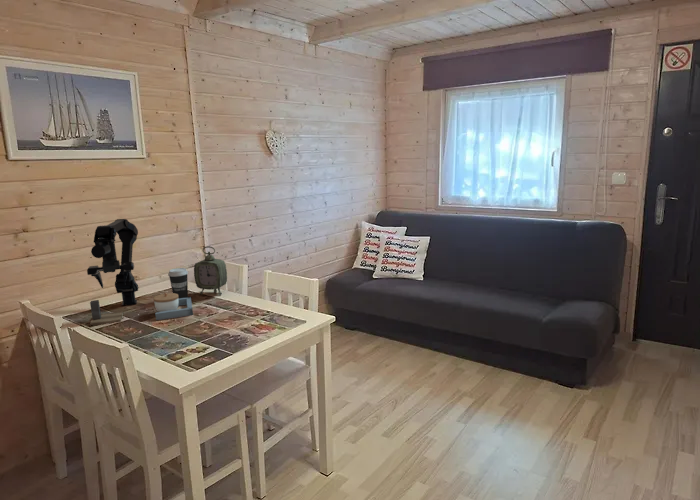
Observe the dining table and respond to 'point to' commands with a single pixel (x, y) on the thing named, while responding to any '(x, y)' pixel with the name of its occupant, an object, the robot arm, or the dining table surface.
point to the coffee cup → (179, 281)
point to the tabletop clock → (210, 273)
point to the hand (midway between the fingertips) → (113, 286)
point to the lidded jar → (166, 302)
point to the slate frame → (178, 312)
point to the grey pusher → (103, 315)
